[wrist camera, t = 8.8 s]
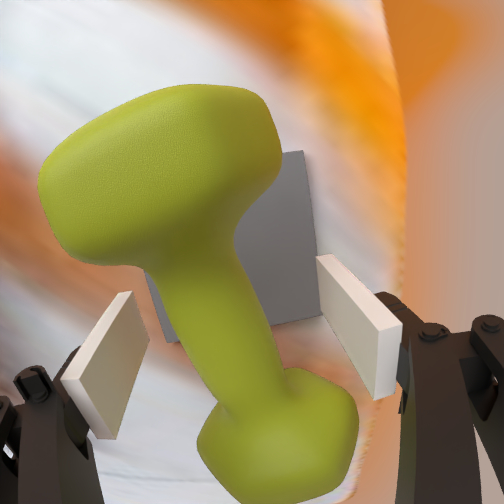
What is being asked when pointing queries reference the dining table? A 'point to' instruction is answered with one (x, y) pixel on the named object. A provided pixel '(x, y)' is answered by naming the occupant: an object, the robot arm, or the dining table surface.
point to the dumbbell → (204, 274)
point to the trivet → (274, 250)
